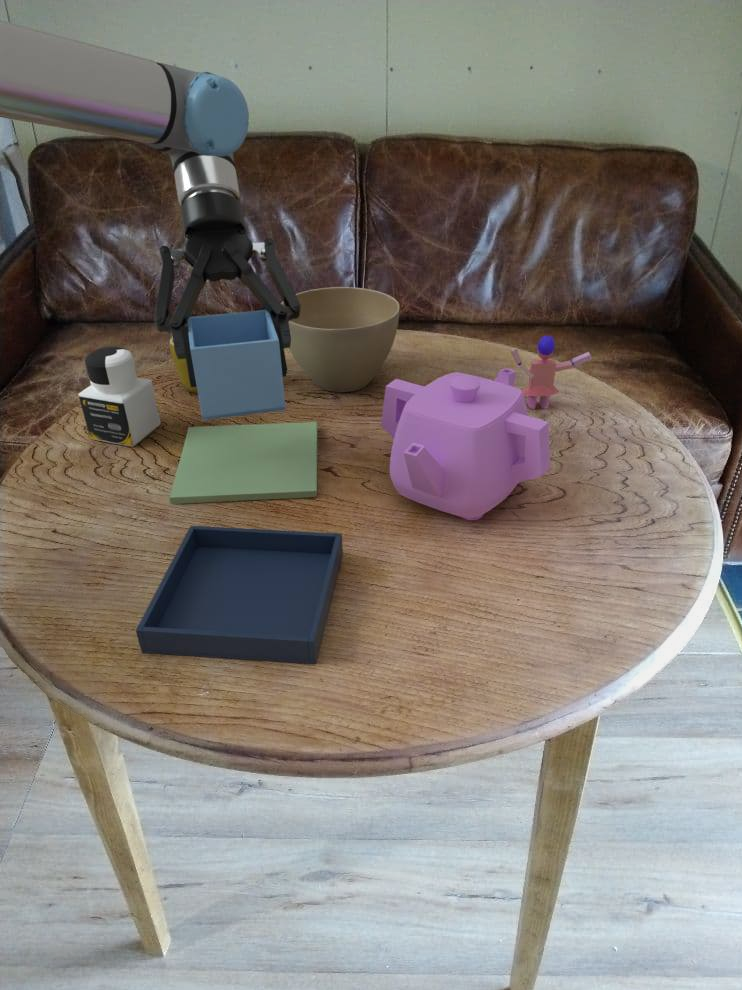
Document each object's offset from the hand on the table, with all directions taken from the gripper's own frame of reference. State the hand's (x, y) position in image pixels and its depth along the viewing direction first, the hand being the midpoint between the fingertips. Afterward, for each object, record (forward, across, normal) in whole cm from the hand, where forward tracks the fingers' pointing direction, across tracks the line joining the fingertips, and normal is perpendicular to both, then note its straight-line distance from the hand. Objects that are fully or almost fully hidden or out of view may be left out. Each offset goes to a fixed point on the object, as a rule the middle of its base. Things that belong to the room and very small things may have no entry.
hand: (239, 377), depth 95 cm
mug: (-12, +4, -31) cm, 34 cm away
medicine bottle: (-2, +16, -21) cm, 27 cm away
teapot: (+17, -25, -3) cm, 30 cm away
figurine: (+4, -44, -16) cm, 47 cm away
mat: (+8, 0, -12) cm, 14 cm away
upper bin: (+1, 0, -5) cm, 5 cm away
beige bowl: (-7, -17, -27) cm, 33 cm away
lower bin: (+27, +3, +8) cm, 28 cm away
